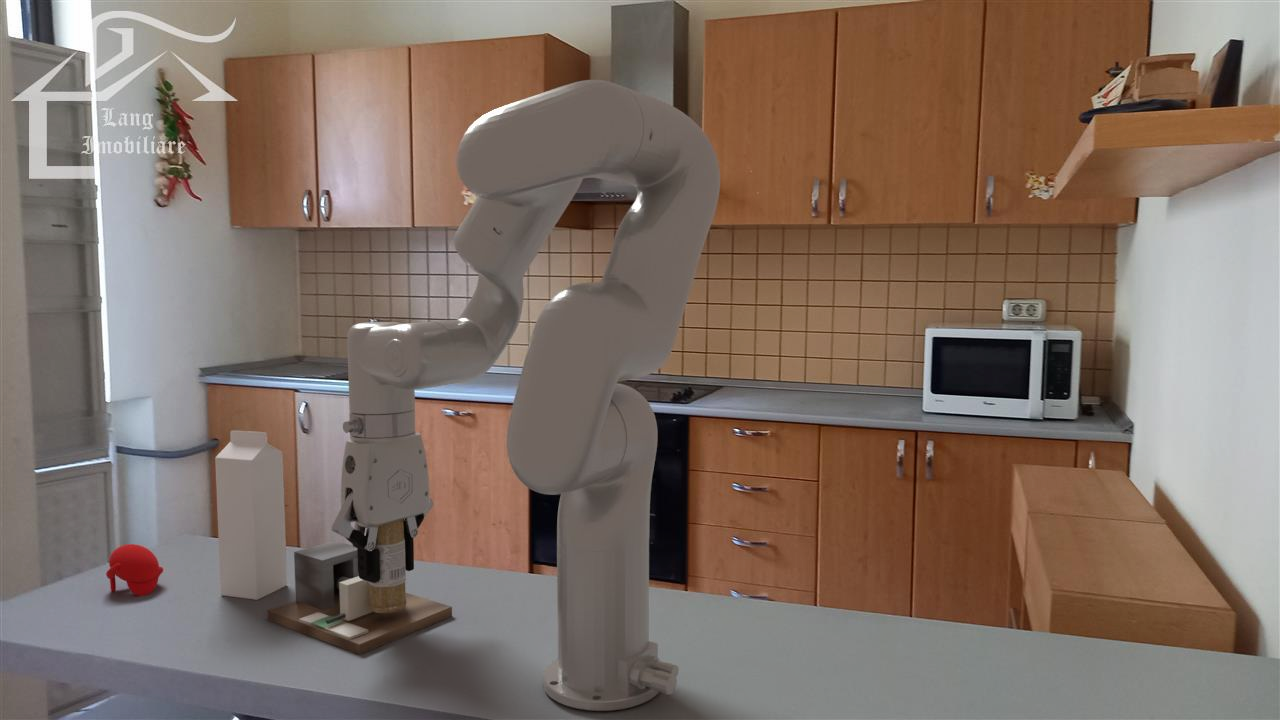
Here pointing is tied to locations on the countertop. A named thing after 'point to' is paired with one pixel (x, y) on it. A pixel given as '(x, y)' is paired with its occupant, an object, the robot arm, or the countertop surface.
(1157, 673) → the countertop surface
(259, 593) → the milk
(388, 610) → the sprinkles bottle
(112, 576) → the cap
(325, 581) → the gauge frame
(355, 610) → the spring plunger
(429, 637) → the countertop surface
